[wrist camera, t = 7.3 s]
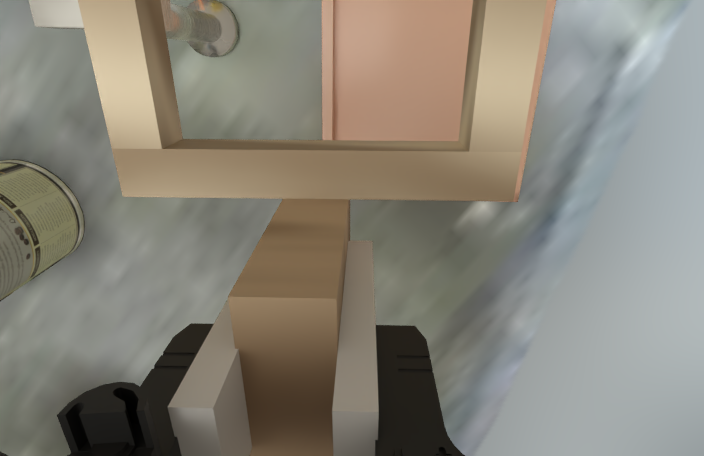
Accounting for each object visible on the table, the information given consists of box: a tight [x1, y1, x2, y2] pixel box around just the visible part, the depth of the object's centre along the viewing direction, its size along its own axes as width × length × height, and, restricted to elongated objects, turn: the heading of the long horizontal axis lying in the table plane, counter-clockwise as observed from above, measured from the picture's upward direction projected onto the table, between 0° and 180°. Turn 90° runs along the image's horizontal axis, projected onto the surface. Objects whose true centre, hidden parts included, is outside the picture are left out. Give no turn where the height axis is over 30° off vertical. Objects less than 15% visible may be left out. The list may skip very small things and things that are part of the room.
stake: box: [29, 0, 239, 57], centre depth 25 cm, size 4×6×15 cm
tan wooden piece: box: [78, 0, 547, 456], centre depth 9 cm, size 17×12×7 cm
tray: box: [322, 0, 556, 202], centre depth 32 cm, size 22×17×2 cm
